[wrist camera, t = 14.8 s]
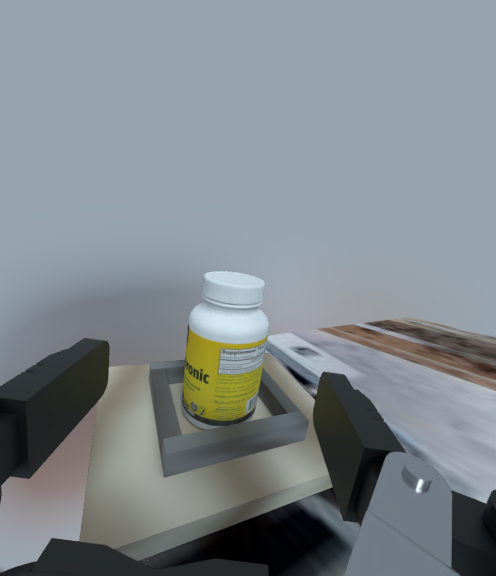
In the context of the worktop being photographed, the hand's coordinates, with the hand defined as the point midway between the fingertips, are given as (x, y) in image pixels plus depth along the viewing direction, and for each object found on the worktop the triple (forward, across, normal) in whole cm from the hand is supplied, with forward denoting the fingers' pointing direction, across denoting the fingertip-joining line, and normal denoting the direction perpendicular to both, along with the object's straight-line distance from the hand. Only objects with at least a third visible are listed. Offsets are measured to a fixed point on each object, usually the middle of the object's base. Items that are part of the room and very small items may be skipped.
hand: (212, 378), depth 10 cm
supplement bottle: (+8, 0, +8) cm, 11 cm away
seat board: (+8, 0, +9) cm, 12 cm away
